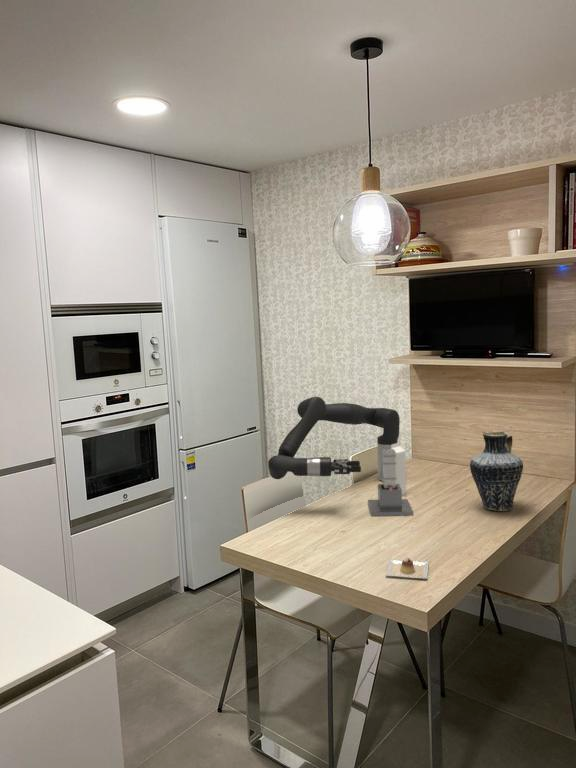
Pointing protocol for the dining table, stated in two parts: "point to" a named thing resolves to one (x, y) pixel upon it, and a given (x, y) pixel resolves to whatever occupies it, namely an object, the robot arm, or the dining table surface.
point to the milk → (400, 466)
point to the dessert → (407, 568)
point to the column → (389, 469)
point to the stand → (389, 503)
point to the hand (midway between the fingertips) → (360, 466)
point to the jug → (497, 471)
